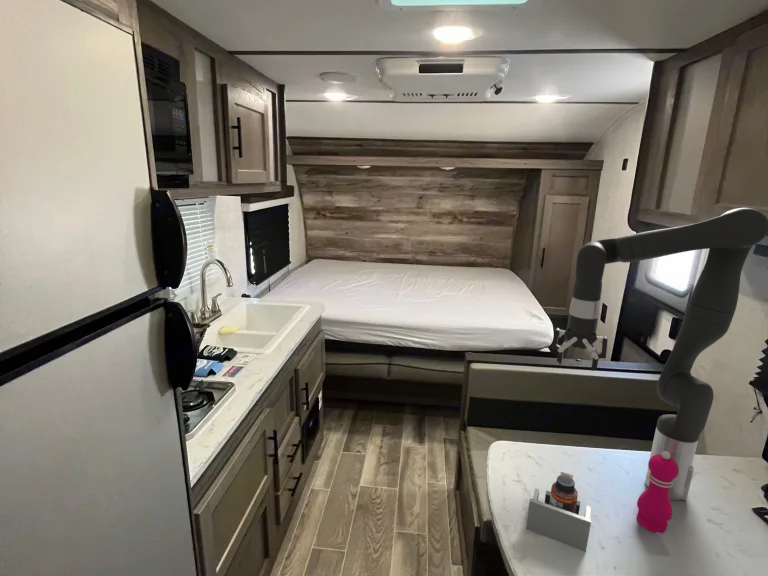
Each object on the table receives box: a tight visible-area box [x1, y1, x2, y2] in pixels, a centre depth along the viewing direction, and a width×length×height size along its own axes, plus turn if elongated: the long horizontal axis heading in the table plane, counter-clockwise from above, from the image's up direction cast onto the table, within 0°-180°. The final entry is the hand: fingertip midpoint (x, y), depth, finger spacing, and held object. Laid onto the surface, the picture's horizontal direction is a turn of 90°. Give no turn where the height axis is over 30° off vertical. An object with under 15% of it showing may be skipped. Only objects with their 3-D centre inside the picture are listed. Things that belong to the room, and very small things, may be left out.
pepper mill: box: [636, 451, 679, 534], centre depth 102 cm, size 7×7×20 cm
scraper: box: [543, 471, 581, 515], centre depth 110 cm, size 8×8×6 cm
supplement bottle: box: [549, 474, 579, 514], centre depth 103 cm, size 6×6×11 cm
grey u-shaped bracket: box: [525, 488, 592, 552], centre depth 102 cm, size 13×11×8 cm
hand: (576, 366), depth 124 cm, fingers open, 8 cm apart
